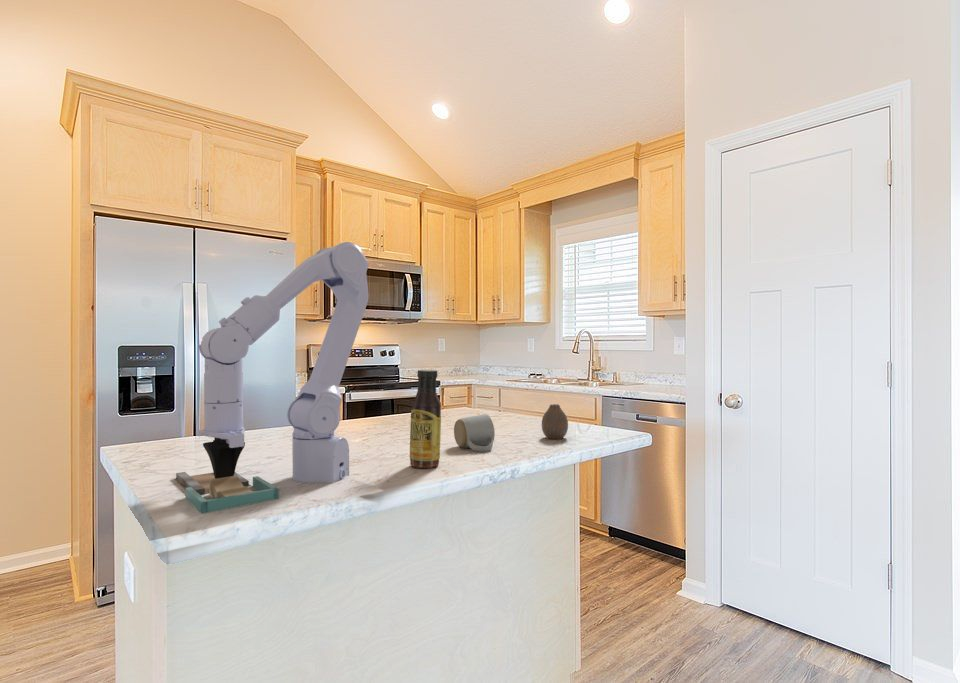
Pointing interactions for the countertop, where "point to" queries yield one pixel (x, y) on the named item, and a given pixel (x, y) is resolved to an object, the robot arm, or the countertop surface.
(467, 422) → the ceramic mug
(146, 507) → the countertop surface
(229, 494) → the tan wooden block
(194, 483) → the slot track
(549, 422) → the vase
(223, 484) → the chip
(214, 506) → the teal u-shaped rail
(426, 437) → the sauce bottle
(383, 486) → the countertop surface
